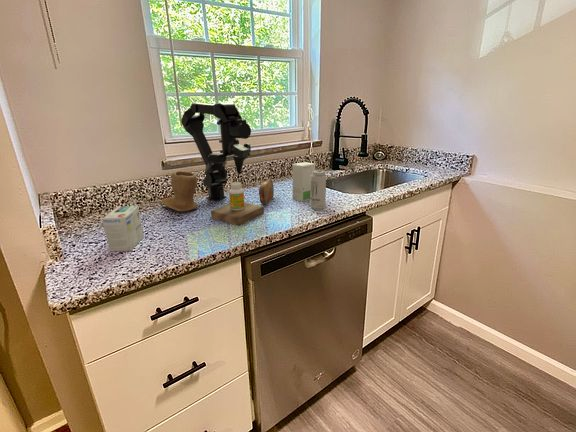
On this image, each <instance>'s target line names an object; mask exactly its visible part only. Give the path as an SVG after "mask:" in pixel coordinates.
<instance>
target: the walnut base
mask: <svg viewBox="0 0 576 432" xmlns="http://www.w3.org/2000/svg"><path fill="white" fill-rule="evenodd" d="M244 203H245V208H244V209H242V210H238V211H236V210H231V208H230V202H228V203H226V204H224V205H221V206H218V207H216V208H214V209H212V210H210V215H211V216H210V217H211V219H213V220H218V221H220V222H224V223H229V224H233V225H236V226H240V227H241V226H243V225H244V224H247V223H248V222H250V221H252V220H254V219H256V218H258V217H260V216H262V215H264V214H265V211H264V209H265V206H264V205H259V204H255V203H249V202H245V201H244Z"/></svg>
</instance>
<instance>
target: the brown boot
mask: <svg viewBox="0 0 576 432" xmlns="http://www.w3.org/2000/svg"><path fill="white" fill-rule="evenodd" d="M170 180H171V188H172V192H173V196H170V197H165V198H164V199H162V200H161V204H162V205H163V206H166V207H167V208H169V209H172V210H174V211H177V212H189V211H192V210H195V209H197V208H198V203H196V202H195V200H194V197H195V196H194V195H195V192H196V189H197V184H198V177H197V174H196V173H194V172H191V171H182V170H181V171H180V170H176V171H174V172H172V173H171V177H170Z"/></svg>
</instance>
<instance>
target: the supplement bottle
mask: <svg viewBox="0 0 576 432" xmlns="http://www.w3.org/2000/svg"><path fill="white" fill-rule="evenodd" d="M229 185H230V188H229V190H228V195H229V197H228V198H229V203H230V208H231V210H236V211H238V210H242V209H244V208H245V203H244V202H245V191H244V189H243V188H242V185H243V184H242V182H239V181H234V182H230V183H229Z"/></svg>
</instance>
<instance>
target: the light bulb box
mask: <svg viewBox="0 0 576 432" xmlns="http://www.w3.org/2000/svg"><path fill="white" fill-rule="evenodd" d="M101 221H102V226H103V229H104V233H105V236H106V240H107V241H106V242H107V246H108V248H109V252H111V253H112V252H132V251H133V249H134V248H135V247H136V246H137V245H138V244H139V243H140V241H141V240H142V239H143V237H144V236H145V235H144V231H143V230H144V229H143V225H142V220H141V215H140V211H139V205H125V206H116V207H115V208H114V209H112V211H110V212H109V213H108V214H106V215H105V216H104V217H102V218H101Z"/></svg>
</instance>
